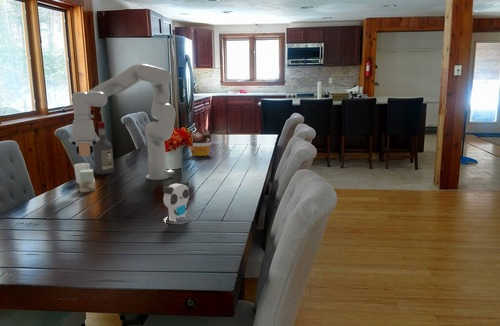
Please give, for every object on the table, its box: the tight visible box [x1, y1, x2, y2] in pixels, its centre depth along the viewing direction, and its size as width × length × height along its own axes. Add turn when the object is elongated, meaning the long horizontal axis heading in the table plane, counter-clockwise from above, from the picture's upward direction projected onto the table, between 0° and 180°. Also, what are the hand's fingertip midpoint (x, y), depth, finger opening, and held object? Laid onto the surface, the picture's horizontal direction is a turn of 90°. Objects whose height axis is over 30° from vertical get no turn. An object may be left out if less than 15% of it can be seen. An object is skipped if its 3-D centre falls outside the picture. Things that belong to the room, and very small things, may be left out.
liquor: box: [93, 121, 114, 175], centre depth 247 cm, size 9×9×30 cm
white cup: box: [73, 162, 91, 185], centre depth 226 cm, size 8×8×10 cm
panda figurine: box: [162, 180, 190, 224], centre depth 167 cm, size 12×11×15 cm
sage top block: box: [80, 168, 95, 182], centre depth 211 cm, size 6×6×5 cm
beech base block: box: [78, 177, 96, 193], centre depth 212 cm, size 7×7×5 cm
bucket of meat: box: [189, 126, 212, 157], centre depth 304 cm, size 20×16×20 cm
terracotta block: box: [78, 141, 92, 157], centre depth 208 cm, size 5×5×6 cm
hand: (85, 153), depth 209 cm, fingers closed on terracotta block, 5 cm apart
